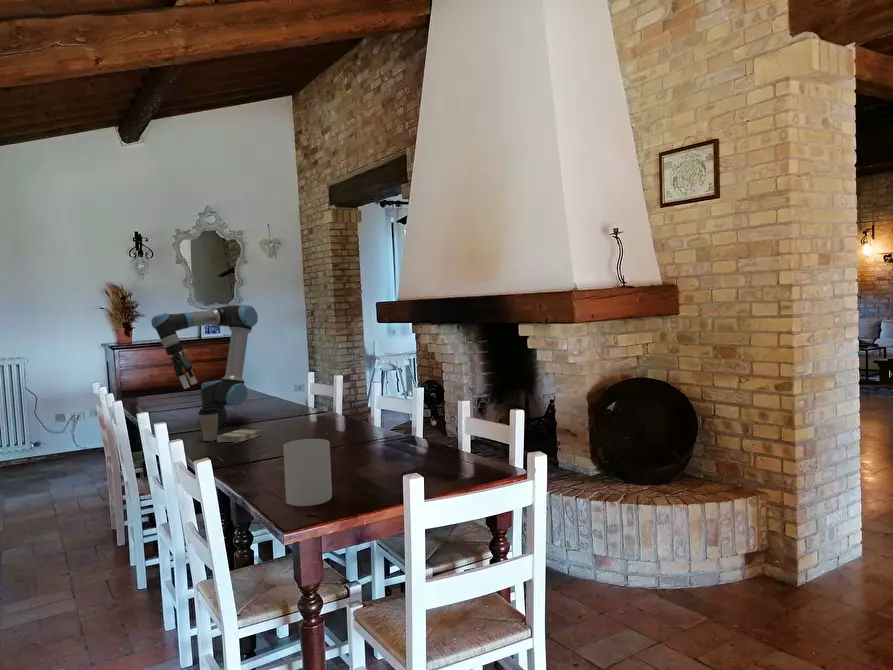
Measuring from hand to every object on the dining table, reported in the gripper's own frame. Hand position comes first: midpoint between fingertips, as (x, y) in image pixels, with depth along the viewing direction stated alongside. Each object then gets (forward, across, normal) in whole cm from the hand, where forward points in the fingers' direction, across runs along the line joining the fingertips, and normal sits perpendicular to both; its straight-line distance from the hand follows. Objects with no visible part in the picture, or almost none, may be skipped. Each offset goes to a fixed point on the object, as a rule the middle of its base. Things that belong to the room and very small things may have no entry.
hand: (190, 386), depth 308 cm
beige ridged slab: (+32, +12, +7) cm, 35 cm away
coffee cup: (+28, +4, -3) cm, 28 cm away
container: (+52, +120, -15) cm, 132 cm away
